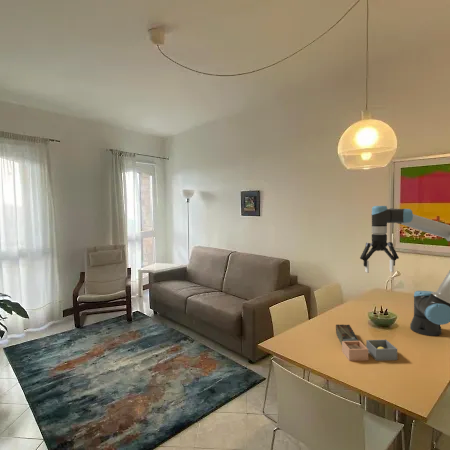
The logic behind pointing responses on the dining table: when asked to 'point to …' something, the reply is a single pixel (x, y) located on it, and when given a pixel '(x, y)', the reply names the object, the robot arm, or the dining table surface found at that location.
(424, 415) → the dining table surface
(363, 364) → the dining table surface
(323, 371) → the dining table surface
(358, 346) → the walnut cube
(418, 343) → the dining table surface
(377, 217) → the robot arm
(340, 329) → the dark grey long box
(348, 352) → the pink open box
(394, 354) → the grey tub
